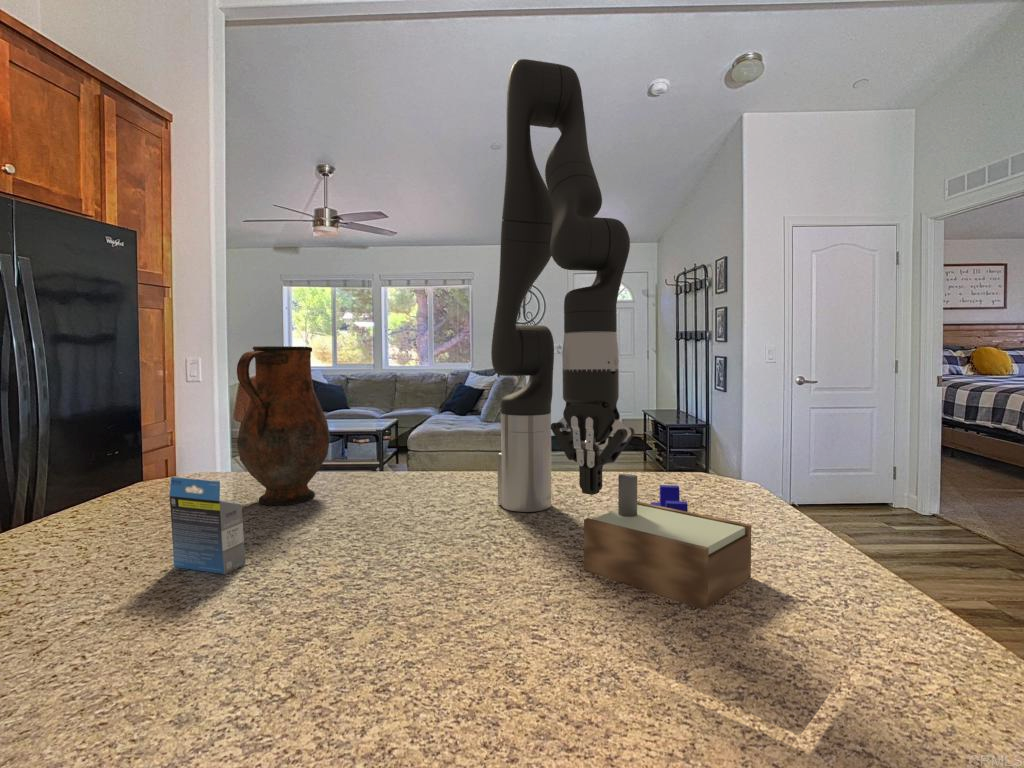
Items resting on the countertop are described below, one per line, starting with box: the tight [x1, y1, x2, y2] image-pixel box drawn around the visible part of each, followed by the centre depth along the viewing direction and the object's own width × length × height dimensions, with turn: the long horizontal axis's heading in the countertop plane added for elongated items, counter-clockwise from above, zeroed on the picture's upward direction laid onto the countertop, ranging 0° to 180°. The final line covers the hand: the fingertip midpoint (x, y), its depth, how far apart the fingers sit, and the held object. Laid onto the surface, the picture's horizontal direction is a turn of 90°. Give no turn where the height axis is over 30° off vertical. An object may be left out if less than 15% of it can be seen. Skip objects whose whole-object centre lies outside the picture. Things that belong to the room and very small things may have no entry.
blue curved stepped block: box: [650, 484, 689, 512], centre depth 89 cm, size 12×4×6 cm, turn 170°
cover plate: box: [591, 473, 745, 554], centre depth 69 cm, size 15×10×6 cm, turn 45°
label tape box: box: [169, 475, 246, 575], centre depth 75 cm, size 9×4×12 cm, turn 71°
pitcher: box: [236, 345, 331, 506], centre depth 108 cm, size 17×21×30 cm
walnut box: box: [583, 501, 752, 611], centre depth 70 cm, size 16×12×7 cm
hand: (591, 493), depth 77 cm, fingers closed
